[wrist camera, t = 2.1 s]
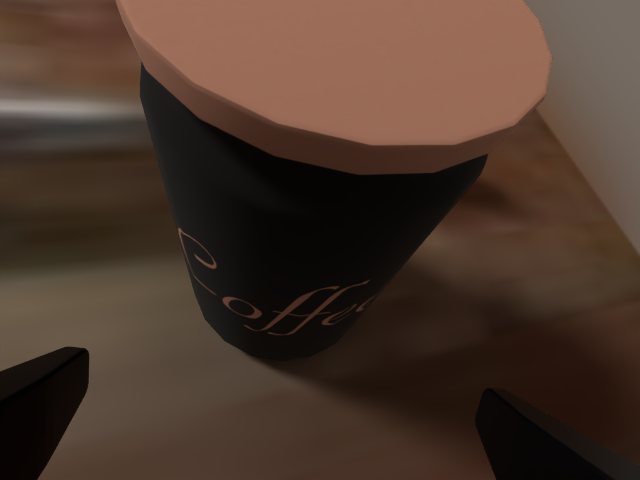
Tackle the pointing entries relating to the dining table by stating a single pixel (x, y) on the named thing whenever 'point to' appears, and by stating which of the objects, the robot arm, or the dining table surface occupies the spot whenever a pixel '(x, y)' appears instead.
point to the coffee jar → (322, 143)
